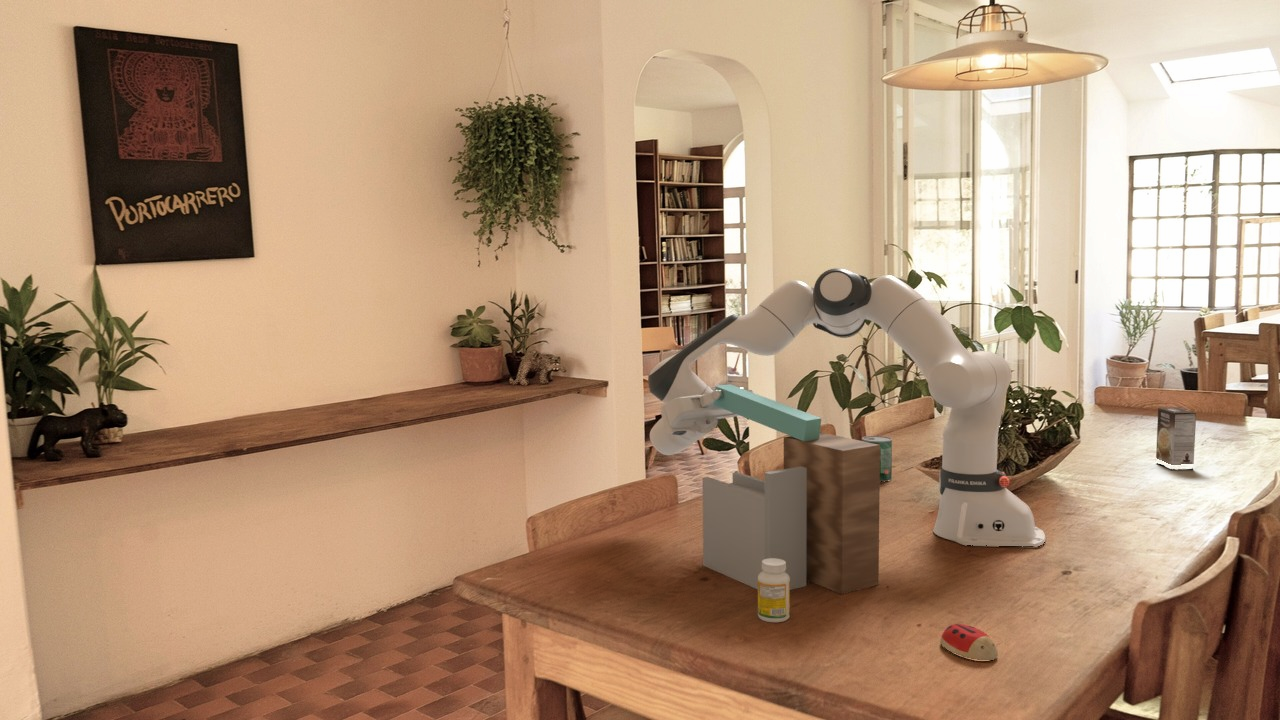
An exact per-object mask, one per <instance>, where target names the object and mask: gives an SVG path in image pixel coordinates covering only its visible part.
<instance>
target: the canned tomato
mask: <svg viewBox="0 0 1280 720" xmlns="http://www.w3.org/2000/svg"><path fill="white" fill-rule="evenodd" d="M861 441H864V442H869V443H873V444H878V445H880V483H882V482H881V481H888V480H891V479H892V480H893V478H892V475H893V474H892V473H893V472H892V469H893V467H892V466H893V465H892V464H893V463H892V462H893V460H892V459H893V439H892V437H889V436H882V435H867V436H862V437H861ZM892 480H891V481H892ZM888 482H889V481H888Z"/></svg>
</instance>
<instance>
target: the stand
mask: <svg viewBox="0 0 1280 720" xmlns="http://www.w3.org/2000/svg"><path fill="white" fill-rule="evenodd" d="M795 467H805V468H807V520H806V581H808V582H811V583H813V584H816V585H818V586H821V587H823V588H825V587H826V588H825V589H828V590H830V589H831V590H830V591H833V592H835V591H836V592H835V593H838V594H840V593H841V595H844V594H843V593H845V594H848V593H847V592H849V593H852V592H851V591H853V592H855V591H854V590H857V591H859V590H858V589H861V590H864V589H868V588H871V587H870V586H872V587H875V585H876V586H879V585H878V584H879V582H880V581H879V578H880V576H879V574H880V573H879V572H880V571H879V570H880V569H879V568H880V563H879V562H880V560H879V559H880V486H881V485H880V484H881V482H880V445H878V444H873V443H869V442H864V441H862V440H858V439H854V438H849V437H844V436H839V435H835V434H829V433H827V432H826V433H825V432H821V431H820V435H819V439H815V440H809V441H802V440H799V439H797V438H794V437H792V436H789V435H788V436H784V437H783V469H789V468H795ZM867 587H868V588H867ZM863 588H864V589H863Z"/></svg>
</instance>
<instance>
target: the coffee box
mask: <svg viewBox="0 0 1280 720" xmlns="http://www.w3.org/2000/svg"><path fill="white" fill-rule="evenodd" d="M1196 422H1197V412H1195V411H1192V410H1189V409H1186V408H1183V407H1181V406H1180V407H1179V406H1178V407H1175V406H1174V407H1158V408H1157V424H1156V425H1157V428H1156V430H1157V431H1156V451H1155V452H1156V453H1155V459H1156V458H1157V459H1159V460H1162V461H1164V462H1166V463H1168V464H1171V465H1181V464H1195V463H1194V462H1195V446H1196V445H1195V443H1196V424H1197V423H1196Z"/></svg>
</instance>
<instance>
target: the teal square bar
mask: <svg viewBox="0 0 1280 720" xmlns="http://www.w3.org/2000/svg"><path fill="white" fill-rule="evenodd" d="M714 390H722V393H723V395H724V396H723V398H721V399H720V400H717V401H715V402H714V405H715V406H718V407H720V408H723V409H725V410H728V411H730V412H733V413H735V414H737V415H738V416H741V417H743V418H746V419H747V420H749V421H752V422H755V423H757V424H760V425H763V426H765V427H767V428H770V429H772V430H773V431H774V430H775V431H777V432H780V433H782V434H784V435H787V436H788V437H789V436H792V437H794V438H797V439H799V440H802V441H809V440H815V439H819V435H820V432H821V428H822V427H821V426H822V425H821V424H822V418H821V417H818V415H813V414H812V413H809V412H805V411H803V410H800V409H798V408H794V407H793V406H790V405H786V404H784V403H781V402H779V401H776V400H774V399H771V398H768V397H765V396H762V395H760V394H758V393H755V392H753V393H752V392H750V391H747V390H748V389H745V388H744V389H742V388H741V387H738V386H737V385H733V384H732V383H729V384H721V385H715V387H714Z"/></svg>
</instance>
